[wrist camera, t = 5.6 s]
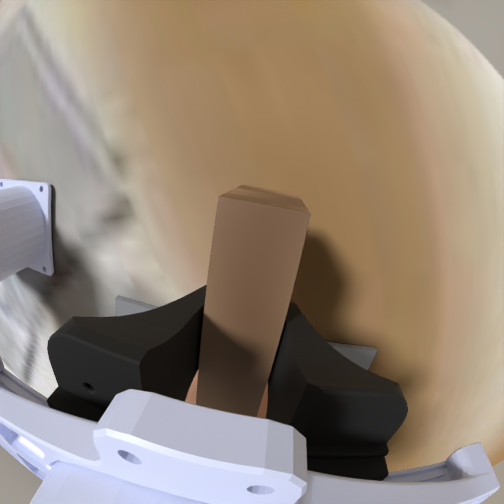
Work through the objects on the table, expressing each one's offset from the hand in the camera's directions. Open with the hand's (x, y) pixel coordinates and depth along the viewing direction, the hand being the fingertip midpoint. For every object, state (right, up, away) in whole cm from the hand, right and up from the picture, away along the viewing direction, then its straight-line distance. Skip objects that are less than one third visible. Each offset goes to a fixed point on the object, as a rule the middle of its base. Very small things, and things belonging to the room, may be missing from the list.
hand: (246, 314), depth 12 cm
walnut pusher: (0, +1, +2) cm, 2 cm away
